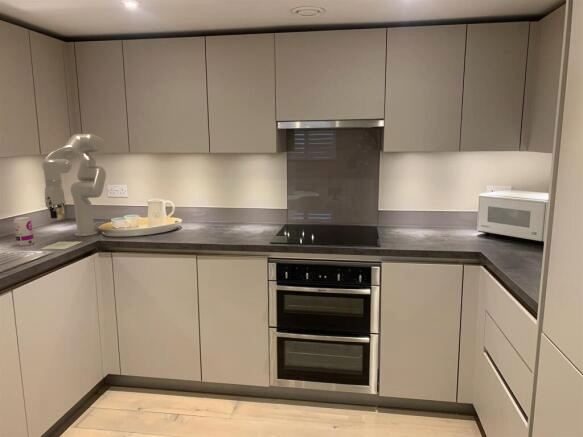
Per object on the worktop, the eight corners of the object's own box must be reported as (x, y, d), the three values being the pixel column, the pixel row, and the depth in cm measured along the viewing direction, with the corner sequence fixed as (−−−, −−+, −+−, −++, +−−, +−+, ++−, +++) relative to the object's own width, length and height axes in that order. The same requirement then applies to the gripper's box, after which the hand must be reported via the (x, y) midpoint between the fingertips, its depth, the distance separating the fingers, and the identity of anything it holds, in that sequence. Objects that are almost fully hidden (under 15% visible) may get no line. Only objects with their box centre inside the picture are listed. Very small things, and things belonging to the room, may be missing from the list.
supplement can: (37, 242, 251) (33, 216, 248) (29, 246, 243) (25, 219, 240) (22, 243, 251) (18, 216, 248) (14, 246, 243) (10, 219, 240)
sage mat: (59, 242, 251) (59, 241, 251) (82, 242, 249) (82, 241, 249) (40, 249, 235) (40, 248, 235) (65, 249, 233) (64, 248, 233)
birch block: (56, 218, 242) (55, 207, 241) (65, 218, 242) (63, 207, 241) (50, 219, 237) (49, 208, 236) (59, 219, 237) (57, 208, 236)
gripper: (57, 182, 245) (61, 214, 248) (35, 185, 228) (40, 220, 232) (70, 181, 244) (73, 214, 247) (49, 185, 227) (53, 220, 230)
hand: (57, 217), depth 239 cm, fingers closed on birch block, 5 cm apart
